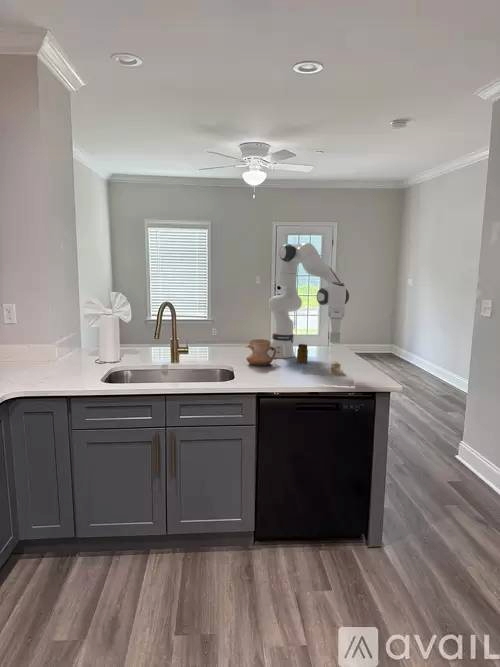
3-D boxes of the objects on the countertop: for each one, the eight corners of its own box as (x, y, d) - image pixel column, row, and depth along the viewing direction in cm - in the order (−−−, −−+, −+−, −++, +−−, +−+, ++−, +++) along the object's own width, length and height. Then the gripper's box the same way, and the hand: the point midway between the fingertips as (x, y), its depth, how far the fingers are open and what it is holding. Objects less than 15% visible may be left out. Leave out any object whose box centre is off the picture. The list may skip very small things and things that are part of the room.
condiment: (303, 363, 258) (304, 343, 256) (311, 366, 250) (312, 345, 248) (293, 364, 255) (294, 344, 253) (301, 367, 247) (302, 346, 245)
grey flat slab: (300, 375, 229) (300, 373, 228) (303, 368, 243) (303, 366, 243) (343, 378, 224) (343, 376, 224) (342, 371, 239) (343, 369, 239)
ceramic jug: (243, 366, 245) (244, 342, 243) (246, 361, 259) (247, 337, 257) (275, 368, 243) (275, 343, 241) (276, 362, 257) (277, 339, 255)
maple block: (330, 372, 231) (331, 363, 231) (330, 370, 236) (331, 361, 235) (340, 373, 230) (340, 364, 230) (340, 371, 235) (340, 362, 234)
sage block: (330, 342, 228) (330, 333, 227) (330, 340, 233) (330, 331, 232) (339, 343, 227) (340, 333, 226) (339, 341, 232) (340, 332, 231)
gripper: (330, 310, 238) (329, 335, 241) (329, 314, 219) (328, 341, 221) (342, 311, 237) (341, 336, 239) (342, 315, 217) (341, 342, 220)
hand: (335, 338), depth 230 cm, fingers closed on sage block, 5 cm apart
